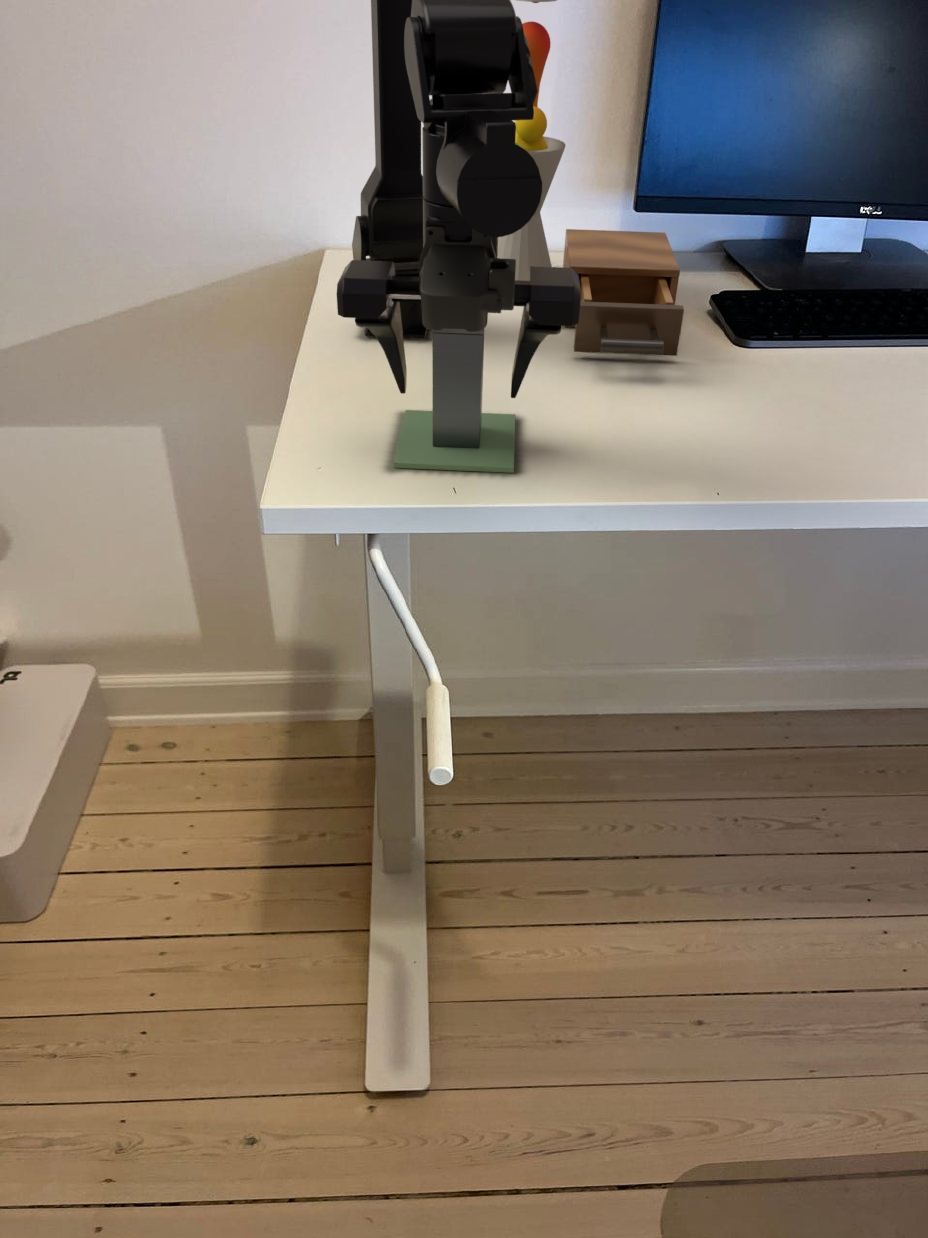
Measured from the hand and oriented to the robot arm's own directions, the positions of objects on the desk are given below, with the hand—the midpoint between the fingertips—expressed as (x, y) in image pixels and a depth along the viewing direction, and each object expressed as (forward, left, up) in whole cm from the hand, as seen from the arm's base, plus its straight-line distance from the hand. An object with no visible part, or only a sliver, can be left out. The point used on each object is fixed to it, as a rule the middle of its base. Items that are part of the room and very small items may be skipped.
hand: (458, 393), depth 81 cm
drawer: (+16, +23, -4) cm, 28 cm away
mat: (0, 0, -4) cm, 4 cm away
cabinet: (+16, +35, -4) cm, 39 cm away
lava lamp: (+5, +45, -5) cm, 46 cm away
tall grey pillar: (0, 0, -4) cm, 4 cm away
